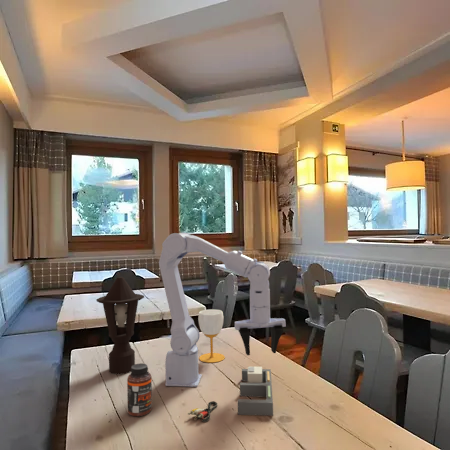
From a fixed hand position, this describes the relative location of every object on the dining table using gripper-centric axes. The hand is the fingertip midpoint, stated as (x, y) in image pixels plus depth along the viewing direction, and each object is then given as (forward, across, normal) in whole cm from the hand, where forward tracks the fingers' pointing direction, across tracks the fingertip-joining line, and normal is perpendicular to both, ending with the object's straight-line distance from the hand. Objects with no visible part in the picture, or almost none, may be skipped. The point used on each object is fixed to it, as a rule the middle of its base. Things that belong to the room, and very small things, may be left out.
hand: (260, 353), depth 102 cm
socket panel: (+9, -3, -5) cm, 11 cm away
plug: (+10, -2, 0) cm, 10 cm away
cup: (+10, -10, +25) cm, 29 cm away
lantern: (+10, -40, +23) cm, 47 cm away
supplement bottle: (+10, -33, -6) cm, 35 cm away
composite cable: (+10, -17, -11) cm, 23 cm away
